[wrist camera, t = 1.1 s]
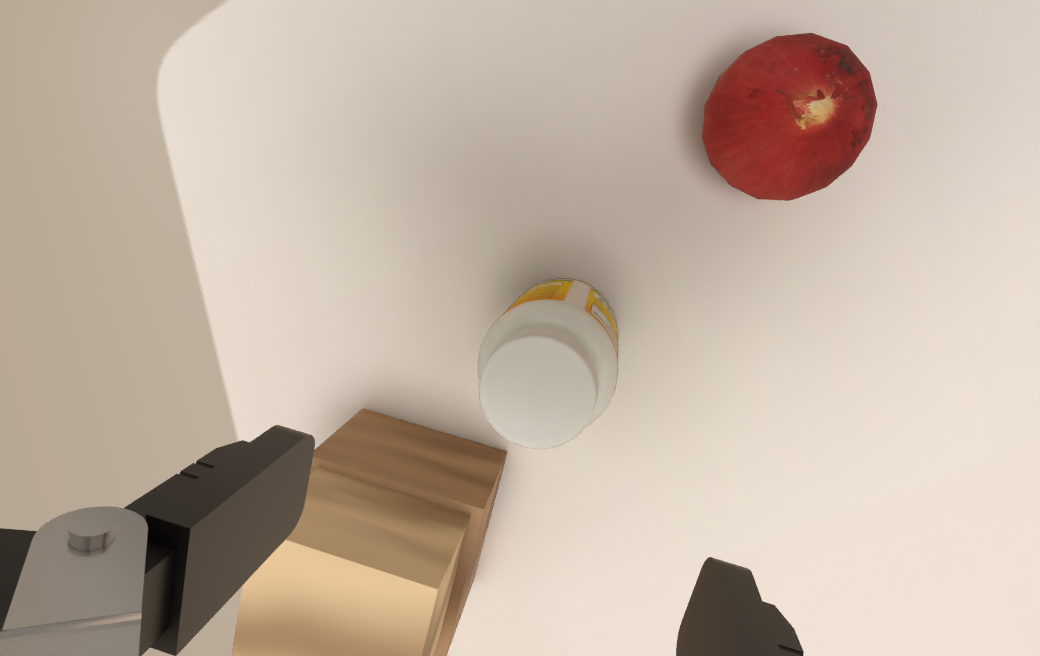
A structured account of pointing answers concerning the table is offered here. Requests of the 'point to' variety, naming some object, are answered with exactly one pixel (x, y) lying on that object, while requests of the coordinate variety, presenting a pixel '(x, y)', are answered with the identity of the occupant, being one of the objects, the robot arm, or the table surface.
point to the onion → (789, 116)
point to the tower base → (423, 481)
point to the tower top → (354, 575)
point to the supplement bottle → (549, 364)
